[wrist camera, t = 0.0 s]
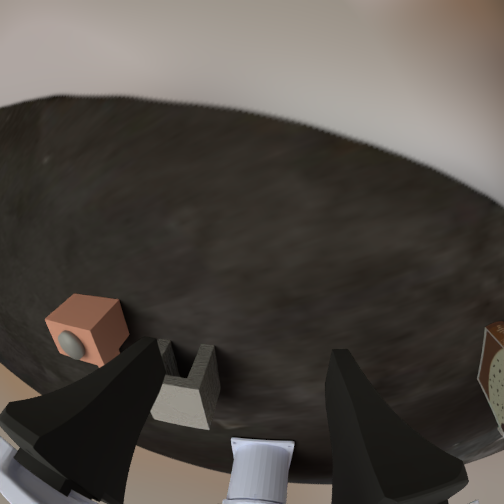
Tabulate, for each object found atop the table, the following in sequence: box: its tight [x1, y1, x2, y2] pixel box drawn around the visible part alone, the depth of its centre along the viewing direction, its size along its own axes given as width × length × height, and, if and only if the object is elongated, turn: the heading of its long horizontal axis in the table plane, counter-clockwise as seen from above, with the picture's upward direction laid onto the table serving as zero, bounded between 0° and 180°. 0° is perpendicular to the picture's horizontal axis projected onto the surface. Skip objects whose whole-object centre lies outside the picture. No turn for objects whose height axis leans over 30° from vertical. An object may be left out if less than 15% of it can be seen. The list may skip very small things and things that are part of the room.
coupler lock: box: [151, 339, 221, 430], centre depth 22 cm, size 6×5×5 cm
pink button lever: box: [45, 293, 129, 368], centre depth 23 cm, size 14×6×6 cm, turn 1°
